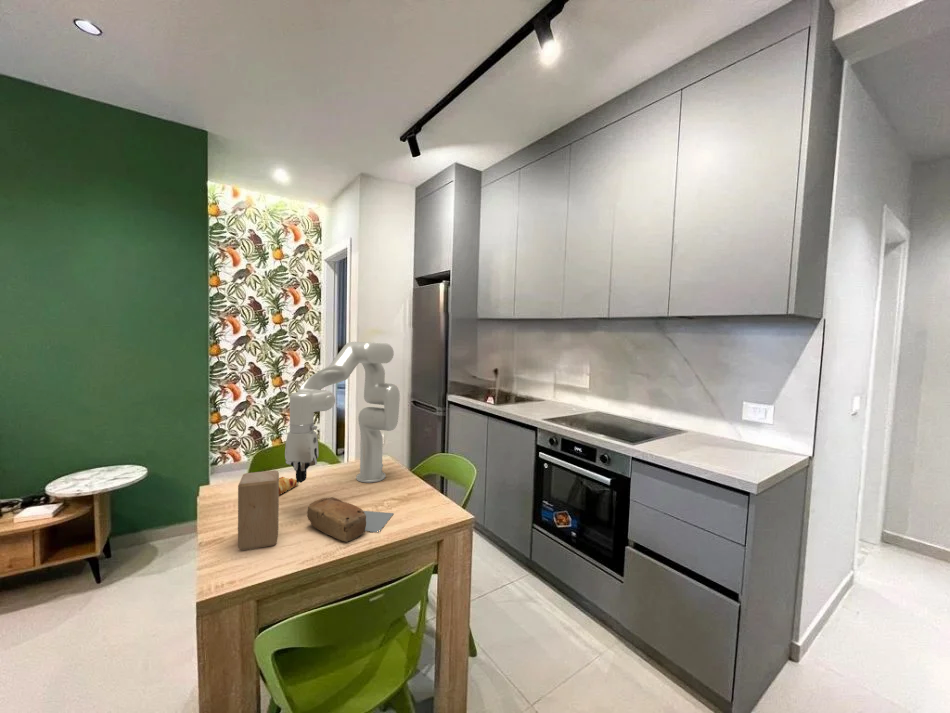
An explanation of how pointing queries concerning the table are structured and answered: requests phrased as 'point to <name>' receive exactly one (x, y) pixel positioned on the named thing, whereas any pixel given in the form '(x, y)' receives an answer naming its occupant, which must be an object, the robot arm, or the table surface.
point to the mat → (376, 520)
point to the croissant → (286, 484)
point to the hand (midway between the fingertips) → (301, 481)
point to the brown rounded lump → (337, 518)
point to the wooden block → (258, 509)
